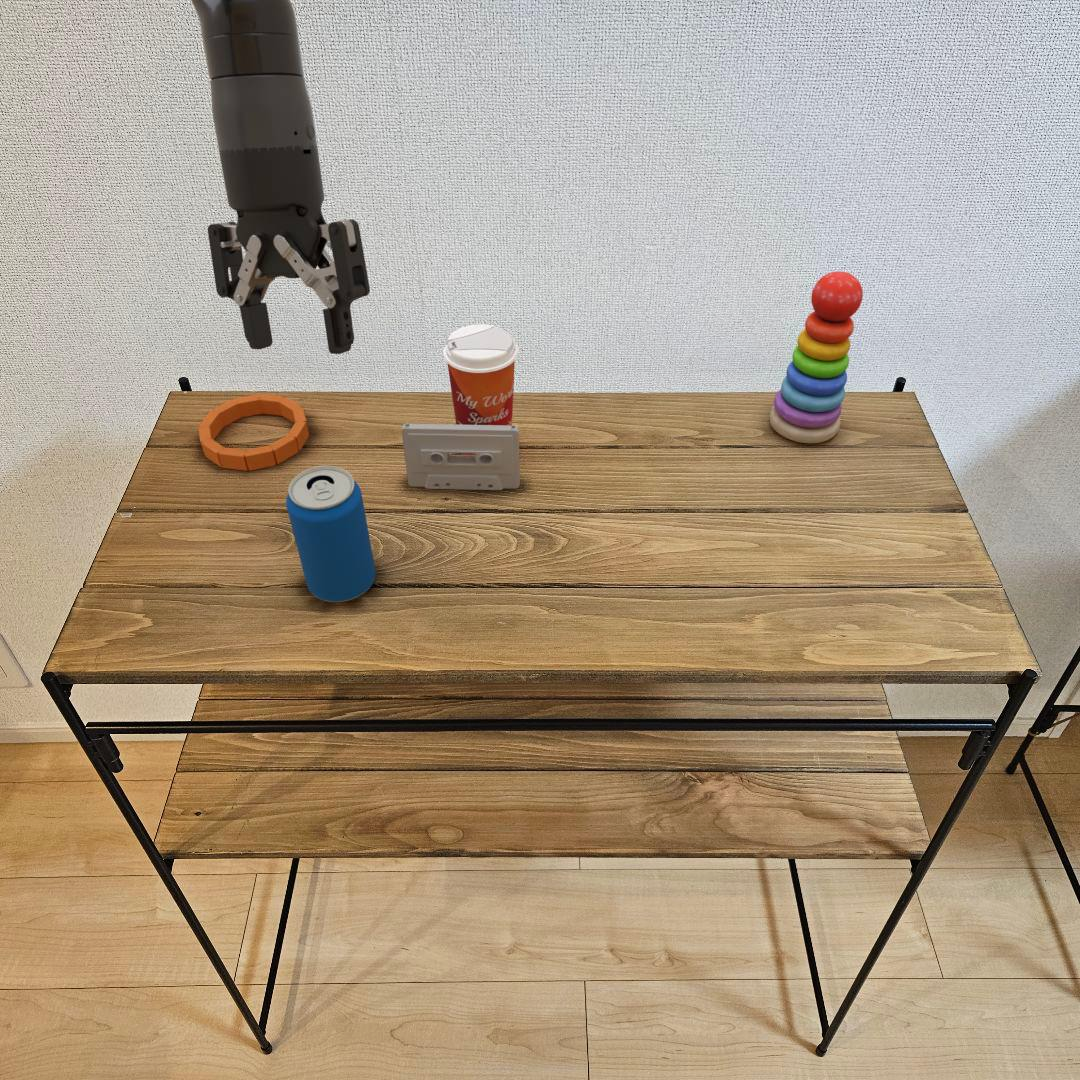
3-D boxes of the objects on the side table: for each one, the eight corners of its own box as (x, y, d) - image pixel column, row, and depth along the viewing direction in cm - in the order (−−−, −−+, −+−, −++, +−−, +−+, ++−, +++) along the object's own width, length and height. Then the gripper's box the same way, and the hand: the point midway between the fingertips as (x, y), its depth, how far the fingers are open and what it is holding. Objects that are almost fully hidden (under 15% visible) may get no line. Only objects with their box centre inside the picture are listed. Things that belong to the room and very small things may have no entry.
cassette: (407, 489, 95) (399, 431, 89) (409, 478, 96) (402, 420, 91) (519, 491, 94) (518, 433, 89) (520, 480, 96) (519, 422, 90)
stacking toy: (845, 447, 100) (890, 295, 87) (774, 446, 100) (809, 294, 87) (830, 407, 106) (870, 258, 93) (762, 406, 106) (794, 257, 93)
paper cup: (458, 477, 96) (450, 366, 86) (445, 436, 101) (435, 327, 92) (528, 465, 98) (527, 354, 88) (511, 425, 103) (509, 317, 93)
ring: (208, 479, 96) (203, 465, 94) (199, 419, 104) (195, 405, 102) (315, 457, 99) (312, 442, 97) (299, 400, 107) (296, 386, 105)
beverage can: (367, 551, 88) (350, 455, 79) (383, 596, 83) (366, 500, 75) (302, 568, 86) (277, 472, 78) (314, 615, 82) (290, 518, 73)
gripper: (164, 149, 70) (206, 355, 76) (309, 139, 64) (341, 363, 70) (232, 147, 76) (265, 338, 82) (370, 138, 70) (394, 344, 76)
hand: (300, 349), depth 76 cm, fingers open, 8 cm apart
